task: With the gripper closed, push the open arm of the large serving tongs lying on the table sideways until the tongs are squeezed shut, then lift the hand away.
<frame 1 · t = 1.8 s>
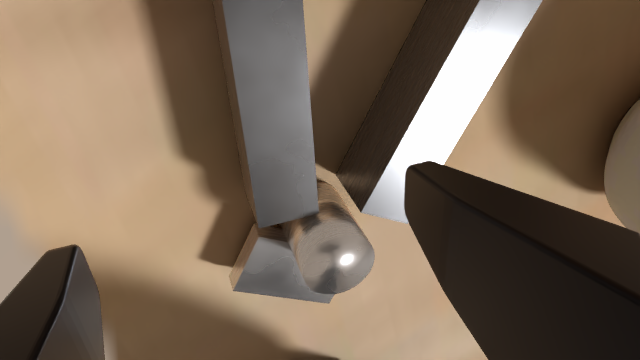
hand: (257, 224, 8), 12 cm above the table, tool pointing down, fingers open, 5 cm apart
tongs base: (309, 209, 24), on the table
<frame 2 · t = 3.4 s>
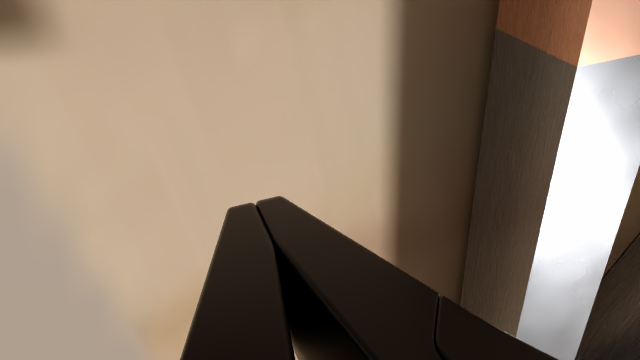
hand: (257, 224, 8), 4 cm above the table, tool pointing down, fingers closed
tongs arm: (536, 236, 14), point 2 cm above the table, hinge at 30.0°
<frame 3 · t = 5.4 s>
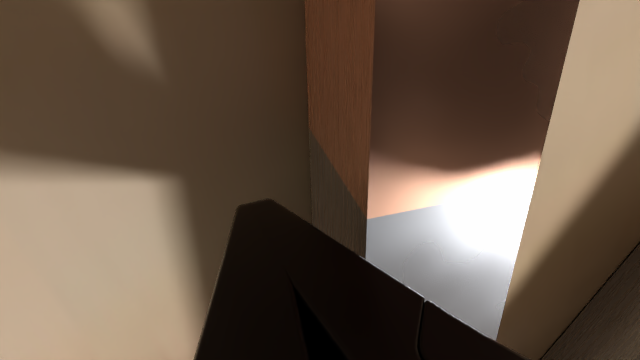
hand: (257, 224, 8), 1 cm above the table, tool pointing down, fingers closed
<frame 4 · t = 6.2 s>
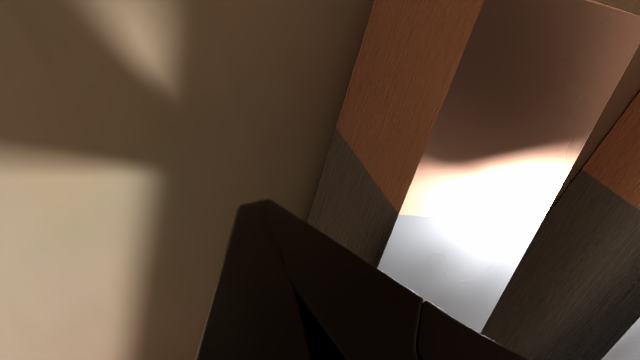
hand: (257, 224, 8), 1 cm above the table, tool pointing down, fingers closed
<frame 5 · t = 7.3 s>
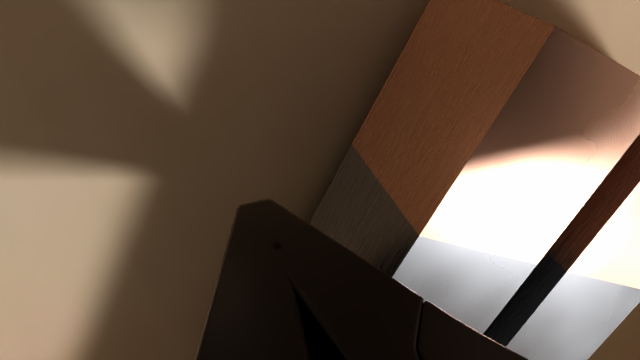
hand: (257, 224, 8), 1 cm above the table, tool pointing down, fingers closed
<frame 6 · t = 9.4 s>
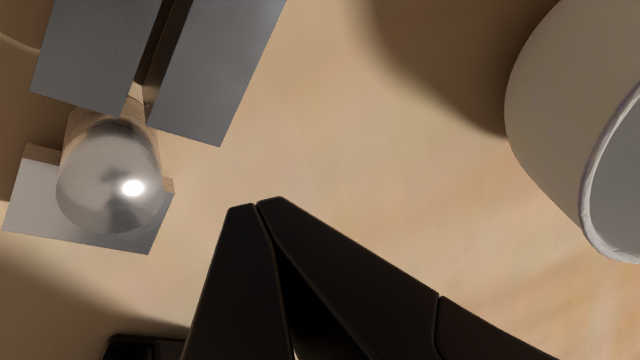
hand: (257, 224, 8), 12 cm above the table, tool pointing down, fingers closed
teacup: (584, 28, 23), on the table
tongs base: (112, 131, 19), on the table
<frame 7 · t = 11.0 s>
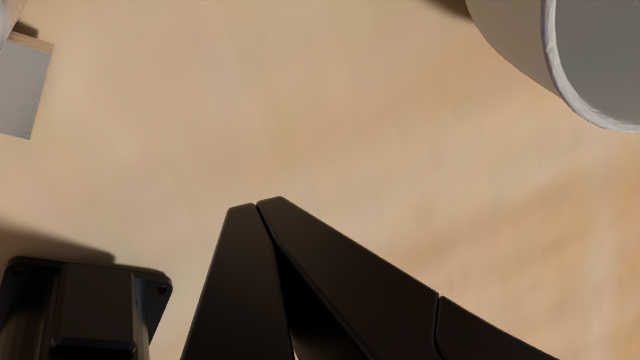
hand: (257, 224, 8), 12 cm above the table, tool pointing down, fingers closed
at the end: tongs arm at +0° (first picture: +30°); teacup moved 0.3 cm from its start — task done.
